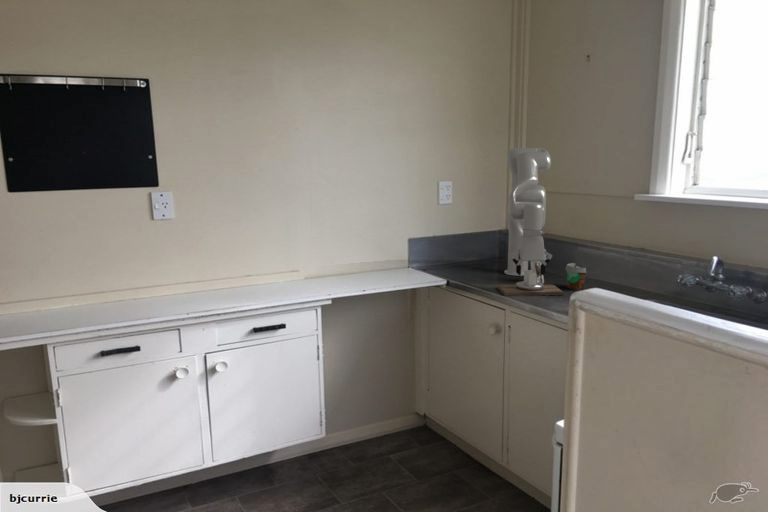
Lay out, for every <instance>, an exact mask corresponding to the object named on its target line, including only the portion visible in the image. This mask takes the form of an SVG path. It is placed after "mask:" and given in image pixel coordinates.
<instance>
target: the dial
mask: <svg viewBox="0 0 768 512" xmlns="http://www.w3.org/2000/svg"><path fill="white" fill-rule="evenodd" d="M544 284H545V283H540V282H537V274H536V273H535V272H533V271H532V270H531V269H528V270H524V276H523V280H522V281H517V282H516V287H517V288H519V289H523V290H542V289H543V286H544Z"/></svg>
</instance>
